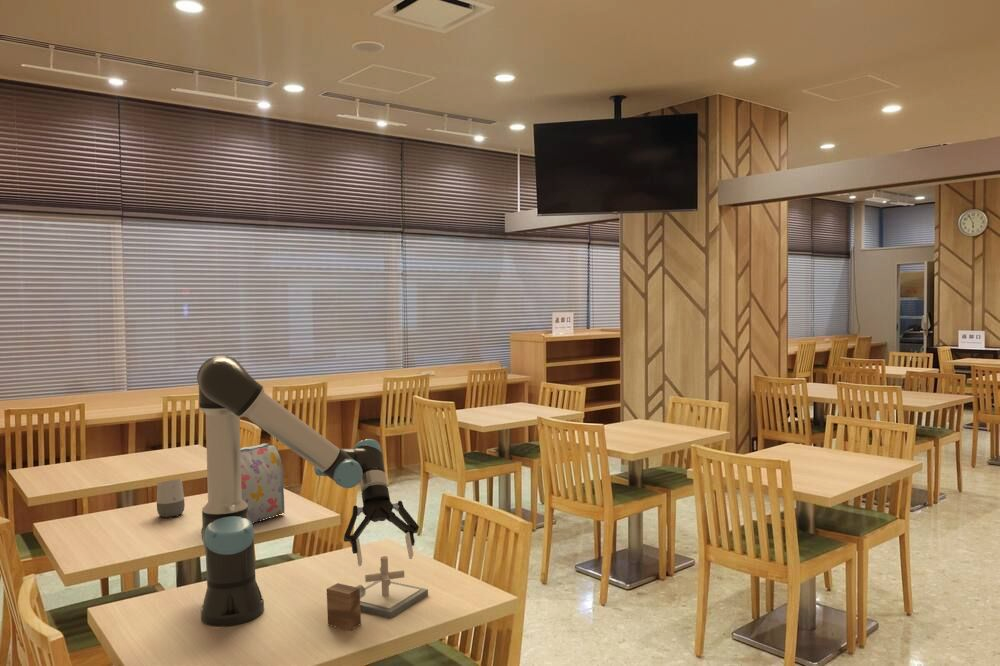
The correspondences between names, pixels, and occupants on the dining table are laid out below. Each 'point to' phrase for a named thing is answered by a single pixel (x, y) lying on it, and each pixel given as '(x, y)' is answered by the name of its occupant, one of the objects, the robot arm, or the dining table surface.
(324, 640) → the dining table surface
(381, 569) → the pipe connector
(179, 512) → the smart speaker
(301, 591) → the dining table surface
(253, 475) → the lunch bag
